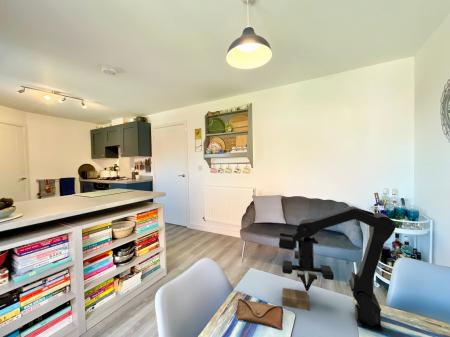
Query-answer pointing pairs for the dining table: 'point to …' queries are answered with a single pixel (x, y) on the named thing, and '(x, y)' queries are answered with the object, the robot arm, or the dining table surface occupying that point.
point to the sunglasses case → (260, 313)
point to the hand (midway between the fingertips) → (306, 290)
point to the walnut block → (295, 299)
